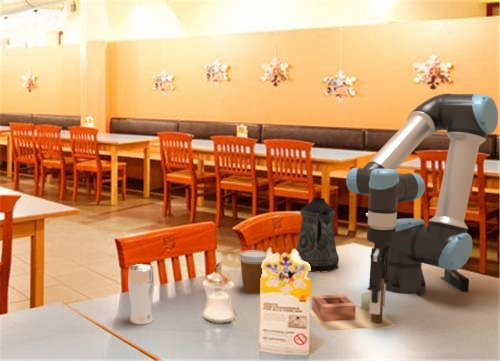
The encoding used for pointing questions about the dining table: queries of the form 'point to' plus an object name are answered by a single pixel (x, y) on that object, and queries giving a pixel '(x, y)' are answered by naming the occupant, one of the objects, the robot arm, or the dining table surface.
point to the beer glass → (141, 293)
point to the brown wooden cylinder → (375, 317)
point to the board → (354, 323)
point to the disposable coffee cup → (251, 269)
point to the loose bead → (365, 301)
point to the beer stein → (318, 236)
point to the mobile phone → (456, 279)
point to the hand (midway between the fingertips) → (377, 309)
